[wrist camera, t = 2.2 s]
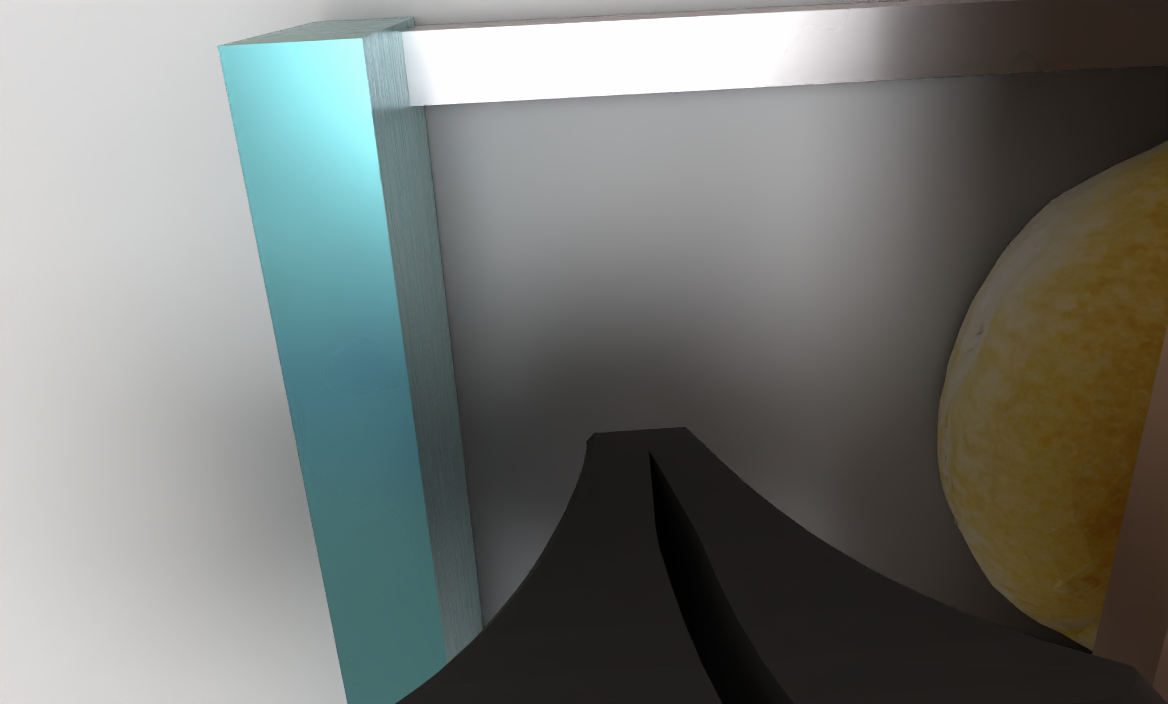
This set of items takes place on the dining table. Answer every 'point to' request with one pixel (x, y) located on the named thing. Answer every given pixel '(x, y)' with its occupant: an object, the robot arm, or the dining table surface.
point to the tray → (1143, 555)
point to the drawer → (412, 251)
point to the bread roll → (1059, 393)
